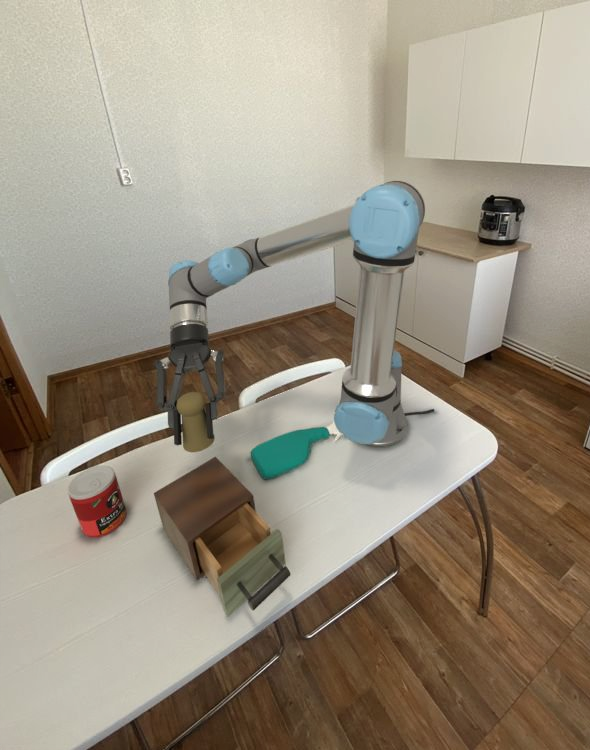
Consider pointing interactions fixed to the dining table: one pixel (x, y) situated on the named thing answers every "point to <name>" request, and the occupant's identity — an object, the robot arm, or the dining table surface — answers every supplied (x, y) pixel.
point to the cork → (193, 422)
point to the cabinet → (199, 506)
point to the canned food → (97, 501)
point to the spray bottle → (288, 450)
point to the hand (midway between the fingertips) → (194, 440)
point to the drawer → (242, 559)
